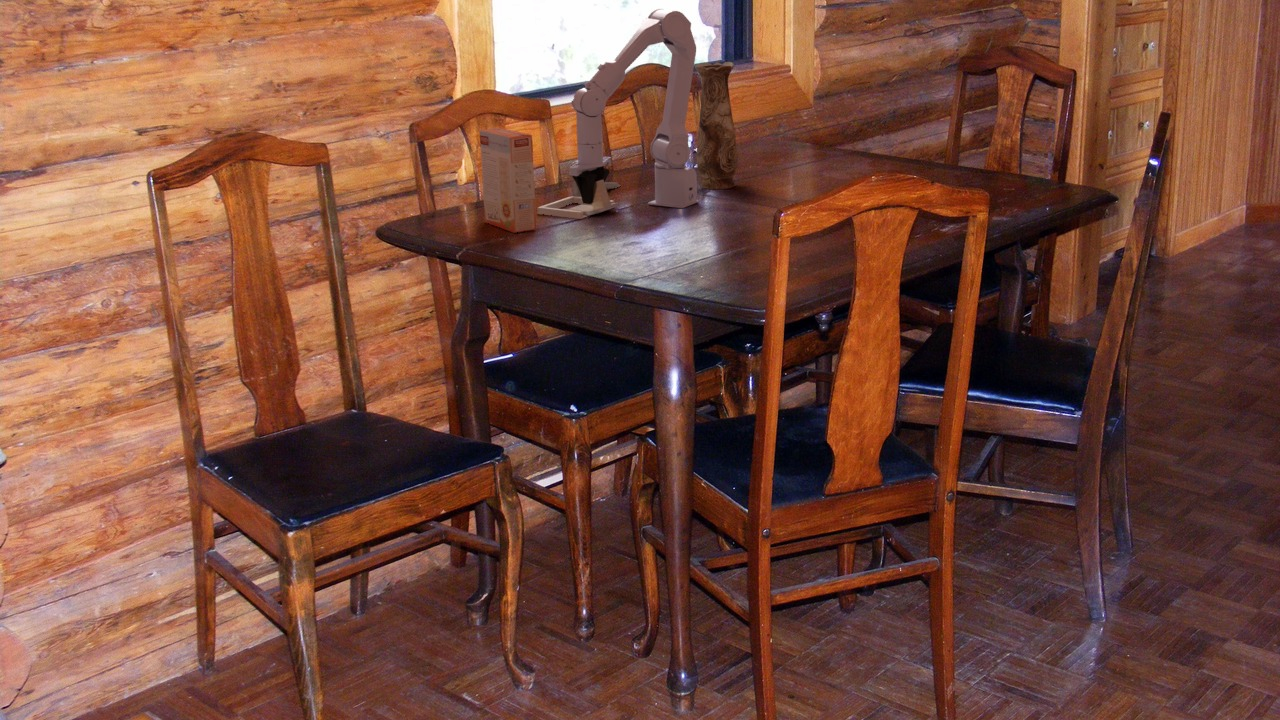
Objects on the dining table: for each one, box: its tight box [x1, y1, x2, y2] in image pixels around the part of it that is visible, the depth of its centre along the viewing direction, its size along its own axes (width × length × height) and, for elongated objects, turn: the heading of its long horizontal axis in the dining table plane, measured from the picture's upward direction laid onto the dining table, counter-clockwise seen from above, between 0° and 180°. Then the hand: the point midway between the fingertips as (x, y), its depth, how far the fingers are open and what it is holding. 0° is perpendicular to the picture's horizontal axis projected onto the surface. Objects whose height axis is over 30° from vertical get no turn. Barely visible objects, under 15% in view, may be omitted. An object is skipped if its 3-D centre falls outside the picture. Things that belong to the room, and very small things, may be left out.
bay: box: [536, 195, 615, 220], centre depth 294 cm, size 12×14×2 cm
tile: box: [568, 204, 594, 216], centre depth 293 cm, size 6×6×1 cm
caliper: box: [571, 179, 622, 197], centre depth 311 cm, size 20×1×6 cm, turn 149°
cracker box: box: [479, 127, 537, 234], centre depth 277 cm, size 14×6×21 cm, turn 34°
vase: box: [694, 61, 739, 190], centre depth 313 cm, size 10×11×30 cm
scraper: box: [585, 180, 620, 217], centre depth 290 cm, size 4×8×7 cm, turn 148°
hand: (591, 201), depth 291 cm, fingers closed on scraper, 3 cm apart
